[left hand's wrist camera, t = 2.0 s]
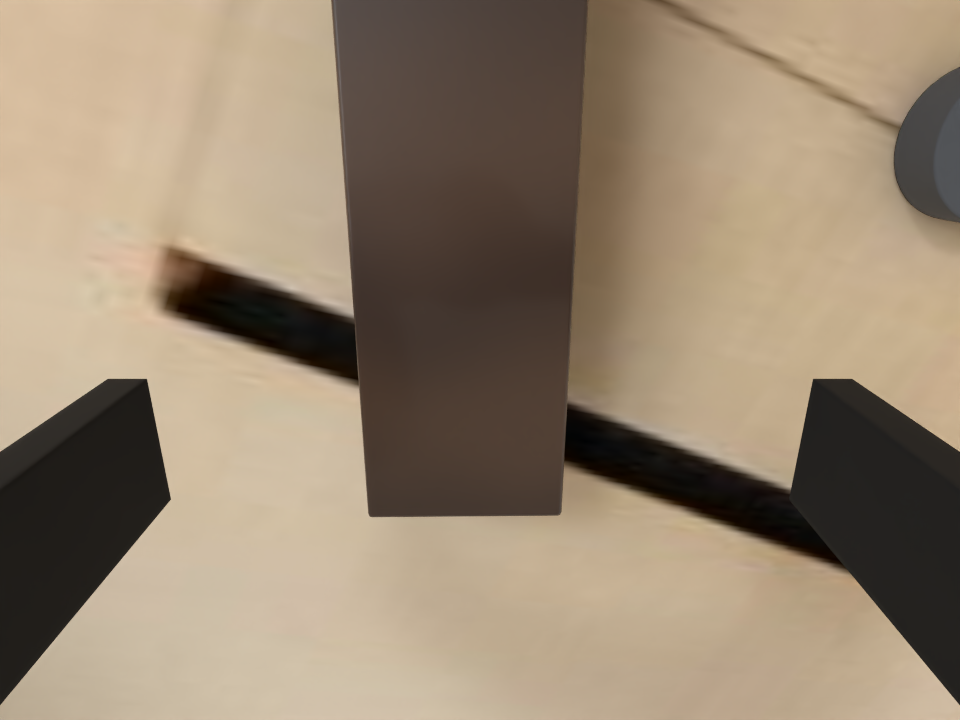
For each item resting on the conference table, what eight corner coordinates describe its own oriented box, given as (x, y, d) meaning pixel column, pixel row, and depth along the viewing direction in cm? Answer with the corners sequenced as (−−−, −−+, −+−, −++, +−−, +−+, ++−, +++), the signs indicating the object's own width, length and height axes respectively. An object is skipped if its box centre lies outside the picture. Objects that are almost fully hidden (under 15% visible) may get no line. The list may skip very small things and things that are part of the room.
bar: (532, 394, 24) (561, 516, 16) (400, 394, 24) (368, 518, 16) (560, -504, 15) (647, -1102, 8) (356, -507, 15) (248, -1113, 8)
